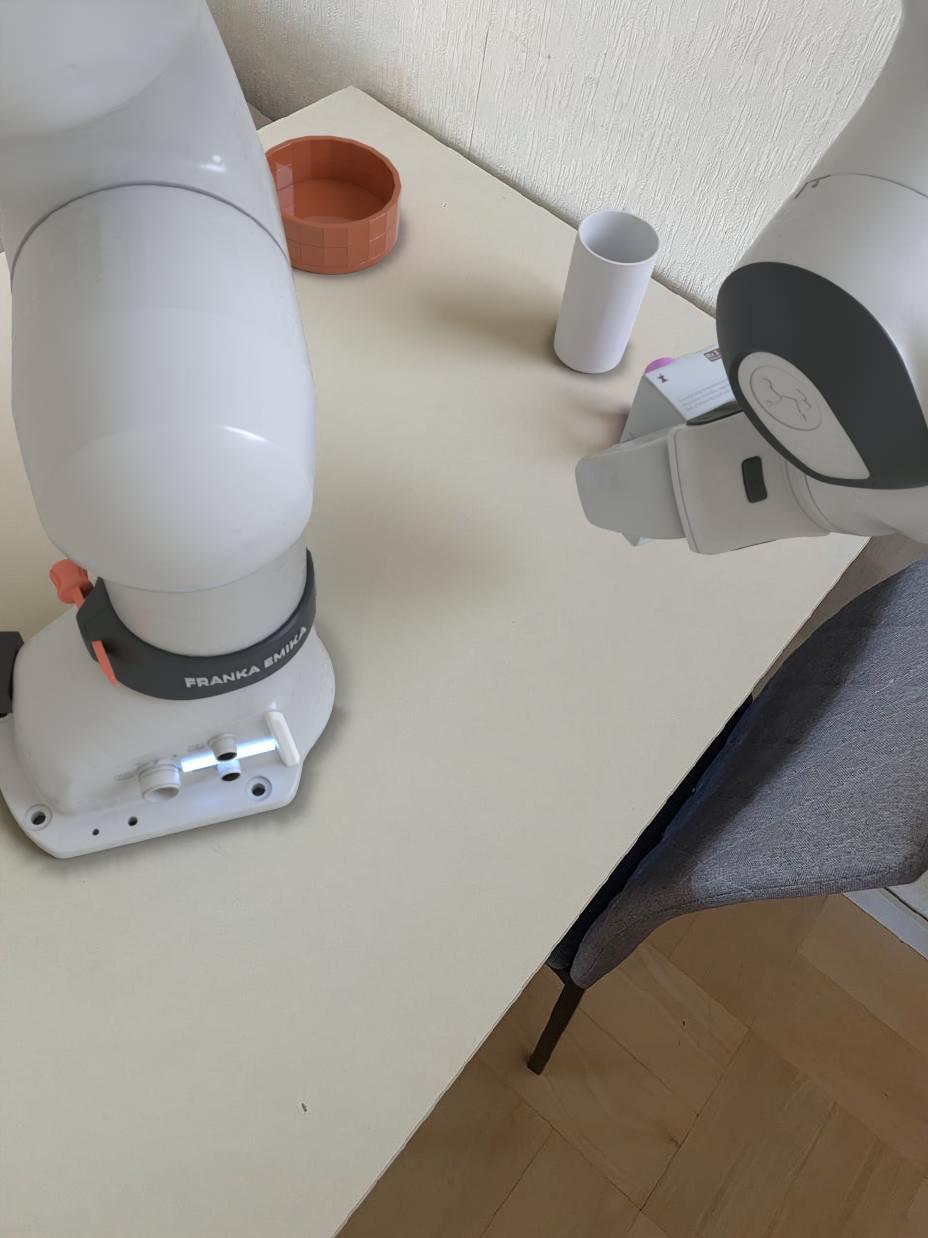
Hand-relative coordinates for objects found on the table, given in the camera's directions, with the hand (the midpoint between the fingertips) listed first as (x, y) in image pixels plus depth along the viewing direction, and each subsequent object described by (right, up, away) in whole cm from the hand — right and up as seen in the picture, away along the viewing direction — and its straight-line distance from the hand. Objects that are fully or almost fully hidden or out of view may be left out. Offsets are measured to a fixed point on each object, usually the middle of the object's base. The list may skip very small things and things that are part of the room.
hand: (669, 438), depth 64 cm
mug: (-1, +14, +28) cm, 32 cm away
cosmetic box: (0, -4, +5) cm, 7 cm away
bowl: (-26, +26, +32) cm, 48 cm away
